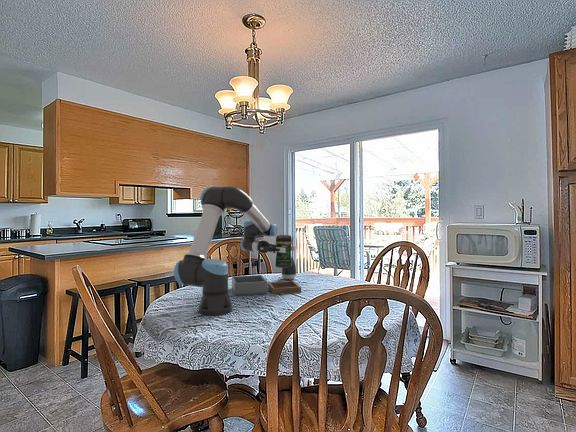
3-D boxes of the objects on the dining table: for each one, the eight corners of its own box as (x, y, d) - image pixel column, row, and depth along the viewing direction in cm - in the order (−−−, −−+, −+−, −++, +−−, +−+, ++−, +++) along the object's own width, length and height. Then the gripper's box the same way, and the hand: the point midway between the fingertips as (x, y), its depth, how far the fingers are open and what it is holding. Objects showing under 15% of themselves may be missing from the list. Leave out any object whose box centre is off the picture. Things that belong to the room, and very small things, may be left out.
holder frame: (301, 292, 191) (301, 286, 191) (273, 294, 187) (273, 288, 187) (293, 285, 206) (293, 280, 206) (267, 287, 202) (267, 282, 202)
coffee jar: (274, 268, 192) (274, 235, 192) (276, 265, 200) (276, 234, 200) (291, 268, 192) (291, 235, 191) (292, 265, 200) (292, 234, 199)
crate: (267, 294, 187) (267, 281, 187) (234, 296, 183) (234, 283, 182) (262, 286, 204) (261, 274, 204) (231, 288, 200) (231, 276, 200)
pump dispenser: (278, 277, 229) (278, 255, 228) (292, 276, 233) (292, 254, 232) (284, 281, 219) (284, 257, 219) (299, 279, 224) (299, 256, 223)
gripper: (272, 250, 215) (301, 253, 201) (248, 254, 199) (277, 258, 185) (272, 239, 215) (301, 241, 201) (248, 241, 199) (277, 244, 184)
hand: (290, 249), depth 193 cm, fingers closed on coffee jar, 9 cm apart
